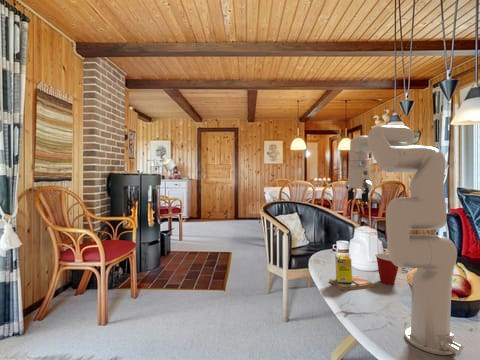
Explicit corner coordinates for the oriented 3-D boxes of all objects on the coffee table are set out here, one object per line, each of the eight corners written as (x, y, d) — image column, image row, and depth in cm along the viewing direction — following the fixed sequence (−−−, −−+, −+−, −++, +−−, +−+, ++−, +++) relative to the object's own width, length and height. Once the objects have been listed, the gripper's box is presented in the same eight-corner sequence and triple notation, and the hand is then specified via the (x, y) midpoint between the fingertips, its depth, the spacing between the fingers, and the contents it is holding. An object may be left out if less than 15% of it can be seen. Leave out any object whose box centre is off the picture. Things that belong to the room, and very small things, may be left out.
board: (374, 286, 124) (374, 282, 124) (342, 290, 119) (343, 286, 119) (358, 278, 133) (359, 274, 133) (329, 281, 129) (329, 277, 129)
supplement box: (352, 284, 121) (351, 259, 121) (338, 284, 123) (336, 259, 122) (349, 278, 127) (348, 254, 127) (335, 278, 128) (334, 254, 128)
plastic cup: (406, 287, 124) (407, 259, 124) (382, 286, 124) (382, 259, 123) (393, 277, 135) (393, 252, 134) (370, 277, 135) (371, 252, 134)
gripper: (378, 164, 126) (377, 202, 127) (353, 165, 143) (352, 198, 143) (364, 164, 124) (363, 202, 125) (340, 164, 141) (339, 199, 141)
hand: (357, 200), depth 134 cm, fingers open, 9 cm apart
